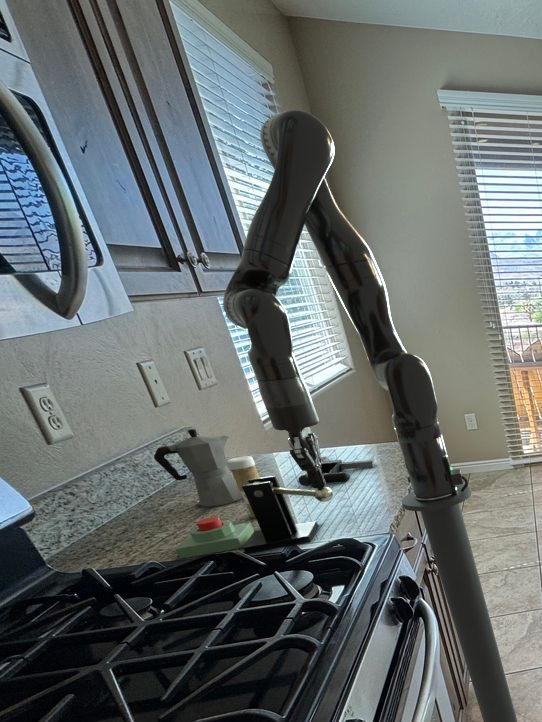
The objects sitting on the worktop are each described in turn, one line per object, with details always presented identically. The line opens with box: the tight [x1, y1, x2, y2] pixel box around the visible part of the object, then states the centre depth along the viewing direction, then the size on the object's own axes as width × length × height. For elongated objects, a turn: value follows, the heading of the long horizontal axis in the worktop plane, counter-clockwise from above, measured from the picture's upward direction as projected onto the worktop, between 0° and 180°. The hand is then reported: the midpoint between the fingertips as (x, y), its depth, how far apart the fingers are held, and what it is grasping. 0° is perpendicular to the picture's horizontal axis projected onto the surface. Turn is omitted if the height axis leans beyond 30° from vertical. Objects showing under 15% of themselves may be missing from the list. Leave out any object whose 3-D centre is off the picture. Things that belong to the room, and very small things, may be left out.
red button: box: [195, 516, 222, 531], centre depth 113 cm, size 4×4×2 cm
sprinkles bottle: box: [226, 455, 261, 519], centre depth 127 cm, size 5×5×14 cm
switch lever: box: [253, 481, 334, 503], centre depth 114 cm, size 13×3×3 cm, turn 114°
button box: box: [175, 520, 255, 560], centre depth 115 cm, size 10×9×4 cm
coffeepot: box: [153, 428, 243, 508], centre depth 136 cm, size 15×9×18 cm, turn 158°
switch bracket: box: [242, 474, 319, 554], centre depth 114 cm, size 11×9×13 cm
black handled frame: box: [296, 456, 375, 487], centre depth 155 cm, size 3×20×16 cm
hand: (319, 486), depth 115 cm, fingers closed
